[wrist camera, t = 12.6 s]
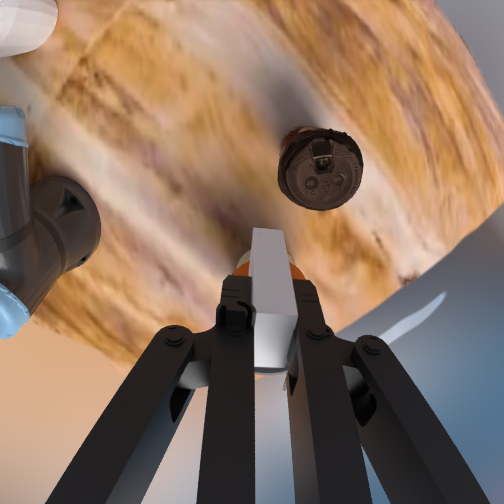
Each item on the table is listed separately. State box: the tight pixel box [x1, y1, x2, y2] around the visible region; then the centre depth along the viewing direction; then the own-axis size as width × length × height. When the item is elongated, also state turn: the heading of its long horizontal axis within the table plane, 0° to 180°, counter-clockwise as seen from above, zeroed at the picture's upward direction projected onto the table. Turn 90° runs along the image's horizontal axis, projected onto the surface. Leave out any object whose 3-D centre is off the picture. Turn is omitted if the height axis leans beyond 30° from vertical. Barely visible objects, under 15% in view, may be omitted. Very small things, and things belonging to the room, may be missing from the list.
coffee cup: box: [278, 126, 363, 211], centre depth 34 cm, size 9×8×13 cm
